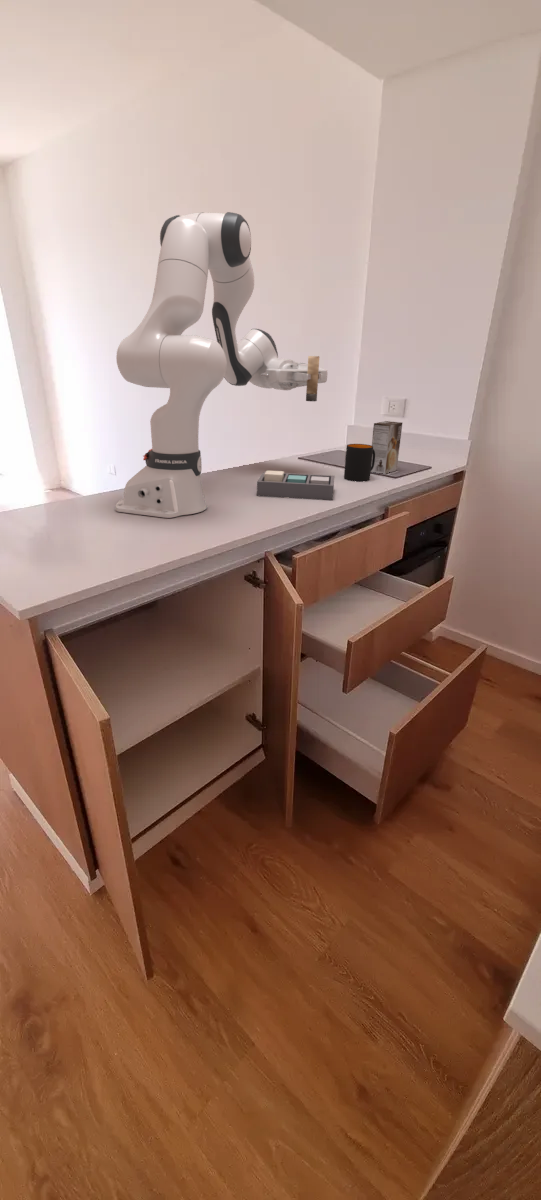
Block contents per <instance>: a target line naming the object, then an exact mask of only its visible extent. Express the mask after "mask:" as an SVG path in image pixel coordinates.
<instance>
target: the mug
mask: <svg viewBox="0 0 541 1200" xmlns="http://www.w3.org/2000/svg"><path fill="white" fill-rule="evenodd" d="M372 454H373V460H372ZM374 463H375V451H374V449H373V446H372V444H364V443H349V444H347V445H346V450H345V461H344V470H343V471H344V472H343V473H344V474H343V479H344V480H345V481H349V482H355V481H356V483H357V482H358V483H359V482H361V483H363V481H365V482H368V481H370V479H371V473H372V472H371V470H372V469H373V467H374ZM371 464H372V466H371Z"/></svg>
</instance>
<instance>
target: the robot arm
mask: <svg viewBox="0 0 541 1200" xmlns="http://www.w3.org/2000/svg"><path fill="white" fill-rule="evenodd" d="M159 234H160V235H159V241H160V242H159V243H160V251H159V256H158V262H157V269H156V275H155V276H156V277H155V282H154V290H153V294H152V297H151V298H152V299H151V302H150V305H149V308H148V310H147V311H146V314H145V316H144V318H143V319H142V320H141V322H140V324H139V325H138V326H137V327H136V328H135V329H134V331H133V332H132V333H131V334H129V335H127V336H126V337H124V338H123V339H122V340H121V342H120V343H119V344H118V345H119V346H118V347H117V349H116V356H115V357H116V365H117V368H118V371H119V373H120V374H121V376H122V377H123V379H124V380H125V381H126V382H128V383H130V384H134V385H137V386H141V387H145V388H157V389H158V388H160V389H169V397H168V400H167V402H166V404H163V405H162V406H160V407H159V408H157V409H156V410H154V412H153V413H152V415H151V417H150V420H149V421H150V434H151V436H150V437H151V448H150V449H149V450H148V451H147V452H146V453H145V454H144V455H142V457H143V461H145V466H144V467H142V469H140V470H139V471H138V472H137V473H136V474H134V475H133V476H132V477H131V478H130V479H129V480H128V481H127V482H126V483H125V487H124V492H123V498H122V499H120V500H119V501H117V502H116V503H115V507H114V508H115V511H116V512H119V513H125V514H126V513H127V514H132V515H133V514H135V515H142V516H151V517H156V518H157V517H159V518H164V519H165V518H168V519H169V518H175V517H180V516H187V515H192V514H197V513H200V512H201V513H202V512H203V511H205V510H206V509H208V504H207V502H206V499H205V494H204V491H203V486H202V478H201V474H202V455H201V453H202V452H201V450H200V449H199V427H200V423H199V421H200V415H201V411H202V408H203V405H204V403H205V401H206V400H207V398H208V396H209V395H210V394H211V392H213V390H214V389H216V388H217V387H219V385H220V384H221V383H222V381H223V380H226V381H227V383H229V384H230V385H232V386H235V387H242V386H246V385H247V384H248V383H251V384H252V385H254V386H256V387H258V388H264V389H274V390H279V391H280V390H281V391H291V390H292V389H296V388H299V387H307V380H310V379H311V378H310V377H311V374H307V371H308V363H303V362H298V361H295V360H292V359H289V358H279V353H278V348H277V345H276V343H275V340H274V339H273V337H272V335H270V333H268V331H265V330H262V329H260V328H252V329H250V330H249V331H248V332H247V333H246V334H245V335H244V336H243V337H242V338H241V339H240V341H239V342H238V341H237V340H238V339H237V333H236V328H237V323H238V320H239V318H240V316H241V314H242V312H243V310H244V309H245V307H246V306H247V303H248V302H249V300H250V299H251V297H252V295H253V292H254V290H255V273H254V269H253V265H252V261H251V258H250V255H251V251H252V235H251V230H250V226H249V223H248V221H247V220H246V219H245V218H244V217H243V216H242V215H241V214H239V213H236V212H231V211H227V212H226V213H224V212H222V213H221V212H194V213H188V214H183V215H180V214H177V215H174V216H170V217H169V218H167V219H166V220H165V221H164V222H163V224H162V226H161V229H160V233H159ZM209 273H210V277H211V280H212V287H213V302H212V307H211V317H212V323H213V327H214V333H215V338H216V340H215V339H211V338H207V337H205V336H199V335H193V334H192V335H187V334H186V335H185V334H183V333H184V332H185V331H186V330H187V329H189V328H190V327H191V326H193V325H194V324H196V323H197V322H199V320H200V319H201V317H202V315H203V312H204V306H205V299H206V292H207V291H206V290H207V286H208V285H207V283H208V277H209V276H208V275H209ZM327 381H328V370H327V369H326V368H323V367H319V372H318V384H323V383H324V384H325V383H327Z"/></svg>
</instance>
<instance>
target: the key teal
mask: <svg viewBox="0 0 541 1200" xmlns="http://www.w3.org/2000/svg"><path fill="white" fill-rule="evenodd" d="M287 482H290V483H306V476H298V475H289V476H288V479H287Z"/></svg>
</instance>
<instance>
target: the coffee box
mask: <svg viewBox="0 0 541 1200" xmlns="http://www.w3.org/2000/svg"><path fill="white" fill-rule="evenodd" d="M402 428H403V422H399V421H391V420H388V421H387V420H385V421H380V422H375V423H373V429H372V441H371V446H373V449H374V451H375V463H374V467H373V469H372V470H371V473H373V472H376V473H375V474H379V473H383V474H382V475H387V474H386V473H388V474H390V473H394V472H396V471H397V470H398V462H399V455H400V445H401V438H402ZM372 460H373V454H372ZM371 466H372V464H371ZM389 472H390V473H389Z"/></svg>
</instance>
